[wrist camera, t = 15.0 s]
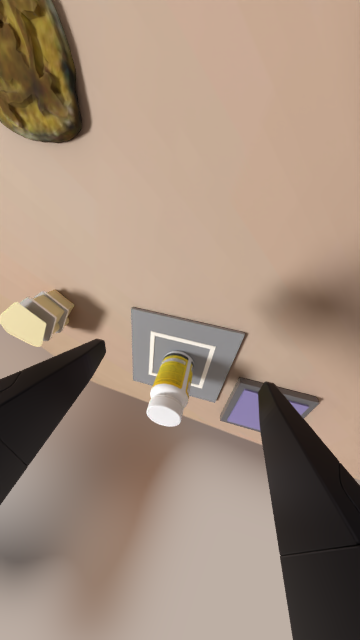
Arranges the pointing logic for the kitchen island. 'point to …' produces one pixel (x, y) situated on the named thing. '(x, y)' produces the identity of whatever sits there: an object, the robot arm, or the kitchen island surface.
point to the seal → (36, 73)
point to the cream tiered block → (37, 317)
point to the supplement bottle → (171, 389)
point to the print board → (183, 349)
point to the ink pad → (246, 408)
